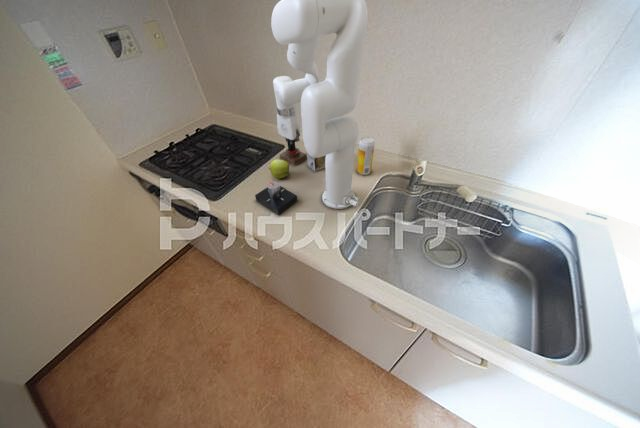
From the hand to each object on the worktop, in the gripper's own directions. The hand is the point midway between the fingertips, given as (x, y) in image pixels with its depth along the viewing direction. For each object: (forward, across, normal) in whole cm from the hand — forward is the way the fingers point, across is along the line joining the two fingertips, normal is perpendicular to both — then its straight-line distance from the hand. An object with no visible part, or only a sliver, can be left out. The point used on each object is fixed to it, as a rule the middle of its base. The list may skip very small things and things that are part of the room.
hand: (292, 149), depth 112 cm
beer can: (+5, +33, +11) cm, 35 cm away
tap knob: (+1, +17, -26) cm, 31 cm away
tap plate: (+4, +17, -26) cm, 32 cm away
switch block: (+4, 0, 0) cm, 5 cm away
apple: (+5, +6, -14) cm, 16 cm away
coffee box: (+5, +14, +3) cm, 15 cm away
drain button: (+2, 0, 0) cm, 2 cm away
